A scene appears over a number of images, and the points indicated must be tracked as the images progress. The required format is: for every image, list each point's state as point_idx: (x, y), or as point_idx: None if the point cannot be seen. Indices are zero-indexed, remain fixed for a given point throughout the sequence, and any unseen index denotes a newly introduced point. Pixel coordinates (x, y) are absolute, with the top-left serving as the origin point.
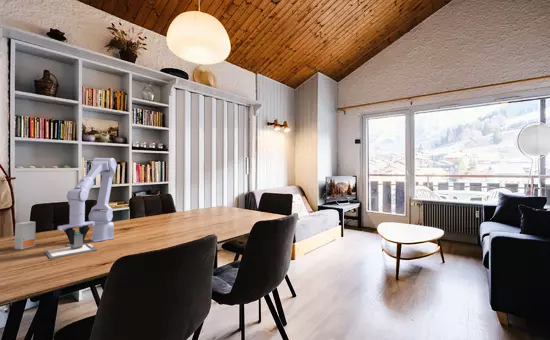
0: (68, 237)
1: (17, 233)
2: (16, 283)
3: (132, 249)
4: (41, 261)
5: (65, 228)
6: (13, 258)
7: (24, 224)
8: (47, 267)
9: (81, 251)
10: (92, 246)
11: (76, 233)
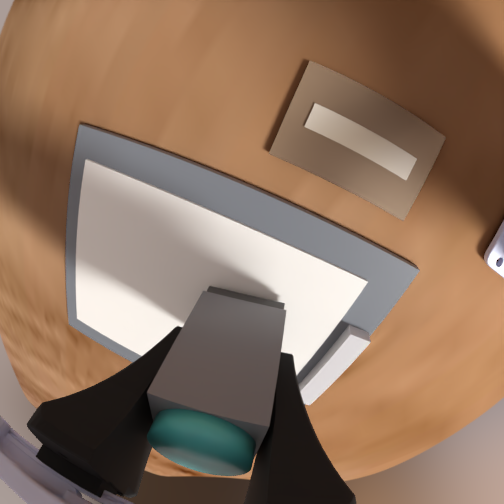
0: (131, 373)
1: None
2: (25, 378)
3: (341, 477)
4: (47, 312)
5: (39, 465)
6: None
7: None
8: (63, 377)
9: None
10: (303, 401)
11: (176, 462)
